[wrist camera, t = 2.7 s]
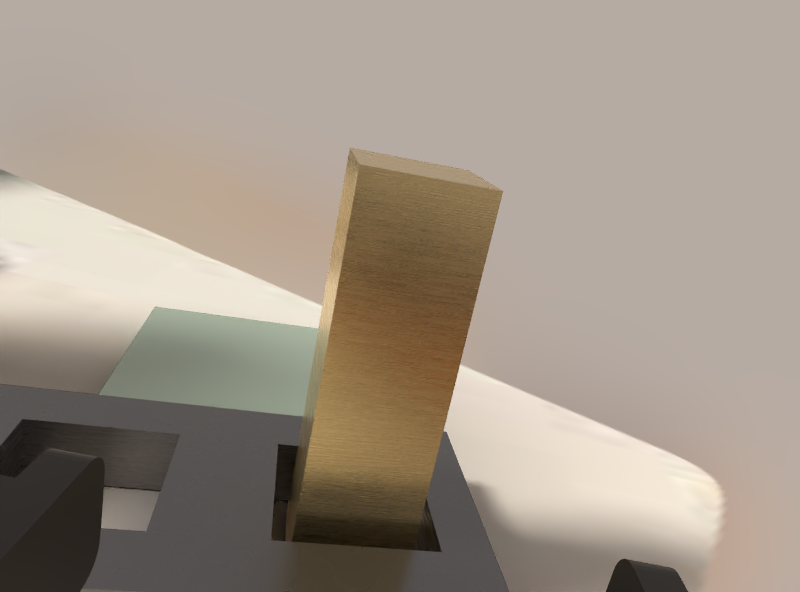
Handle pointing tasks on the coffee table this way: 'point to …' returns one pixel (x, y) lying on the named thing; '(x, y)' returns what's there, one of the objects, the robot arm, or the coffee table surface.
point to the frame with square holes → (233, 501)
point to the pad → (217, 363)
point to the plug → (388, 348)
